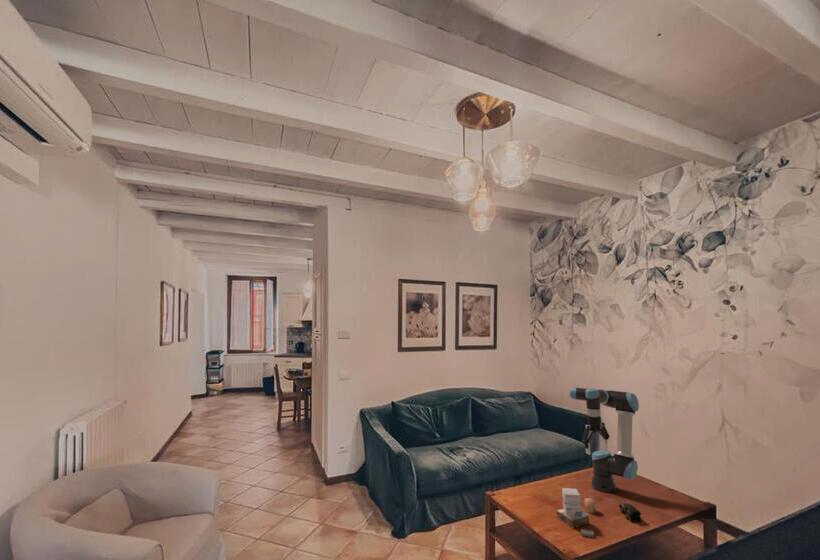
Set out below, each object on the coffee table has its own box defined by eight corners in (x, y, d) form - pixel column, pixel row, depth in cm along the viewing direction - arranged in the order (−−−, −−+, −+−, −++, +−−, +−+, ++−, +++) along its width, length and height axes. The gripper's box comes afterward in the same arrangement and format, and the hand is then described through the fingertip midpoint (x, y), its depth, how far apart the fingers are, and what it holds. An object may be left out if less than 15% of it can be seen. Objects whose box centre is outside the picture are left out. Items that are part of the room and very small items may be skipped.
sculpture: (616, 511, 228) (615, 499, 229) (626, 510, 229) (625, 498, 230) (631, 523, 215) (631, 510, 216) (642, 522, 216) (641, 509, 217)
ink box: (578, 509, 223) (577, 488, 224) (582, 516, 215) (580, 494, 216) (562, 508, 225) (561, 487, 226) (565, 515, 216) (564, 494, 218)
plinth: (557, 518, 223) (556, 510, 223) (572, 513, 227) (572, 505, 228) (573, 528, 212) (572, 519, 212) (589, 523, 216) (588, 514, 217)
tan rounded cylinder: (582, 509, 232) (582, 499, 232) (590, 507, 234) (589, 497, 235) (591, 514, 226) (590, 503, 227) (598, 512, 229) (597, 501, 229)
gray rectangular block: (581, 536, 204) (581, 532, 204) (581, 532, 208) (581, 528, 208) (594, 538, 202) (593, 534, 202) (593, 534, 206) (593, 530, 206)
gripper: (583, 419, 224) (586, 457, 222) (614, 414, 234) (617, 450, 232) (573, 416, 231) (576, 453, 229) (603, 411, 241) (606, 447, 238)
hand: (596, 452), depth 230 cm, fingers open, 13 cm apart
